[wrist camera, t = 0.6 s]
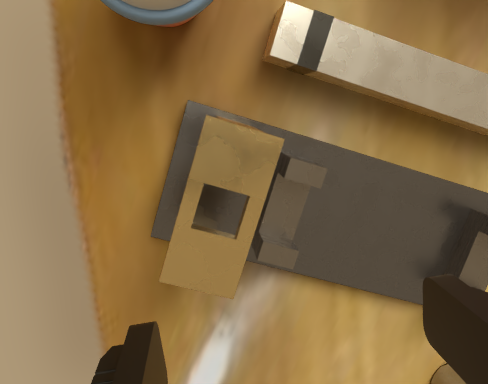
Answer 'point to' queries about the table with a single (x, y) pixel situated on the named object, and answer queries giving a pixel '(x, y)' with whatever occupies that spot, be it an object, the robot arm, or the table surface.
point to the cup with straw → (158, 10)
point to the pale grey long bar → (377, 67)
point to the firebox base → (309, 213)
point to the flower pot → (446, 376)
